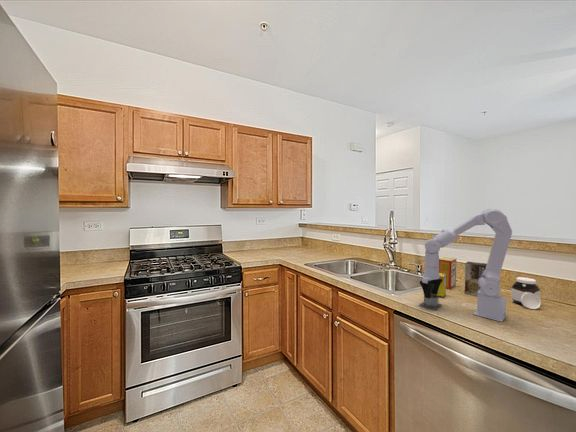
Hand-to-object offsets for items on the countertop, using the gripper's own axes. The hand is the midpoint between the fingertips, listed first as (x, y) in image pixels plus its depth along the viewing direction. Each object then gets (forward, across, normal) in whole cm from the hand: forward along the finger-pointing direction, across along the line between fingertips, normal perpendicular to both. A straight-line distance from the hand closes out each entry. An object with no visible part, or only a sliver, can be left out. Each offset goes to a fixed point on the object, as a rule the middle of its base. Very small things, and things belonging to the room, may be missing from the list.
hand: (430, 296), depth 121 cm
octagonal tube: (+4, 0, 0) cm, 4 cm away
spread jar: (+5, -36, +28) cm, 46 cm away
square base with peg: (+5, 0, 0) cm, 5 cm away
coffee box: (+5, -36, +8) cm, 37 cm away
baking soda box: (+5, -39, -6) cm, 39 cm away
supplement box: (+5, -18, -4) cm, 19 cm away
